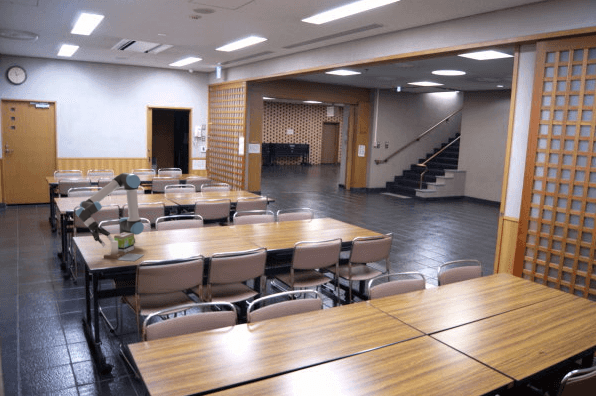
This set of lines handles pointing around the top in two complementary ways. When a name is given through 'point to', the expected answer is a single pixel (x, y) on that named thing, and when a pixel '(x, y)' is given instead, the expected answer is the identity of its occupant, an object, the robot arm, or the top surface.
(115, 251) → the ceramic canister
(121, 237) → the tea box
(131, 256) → the slate mat
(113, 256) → the walnut deck
